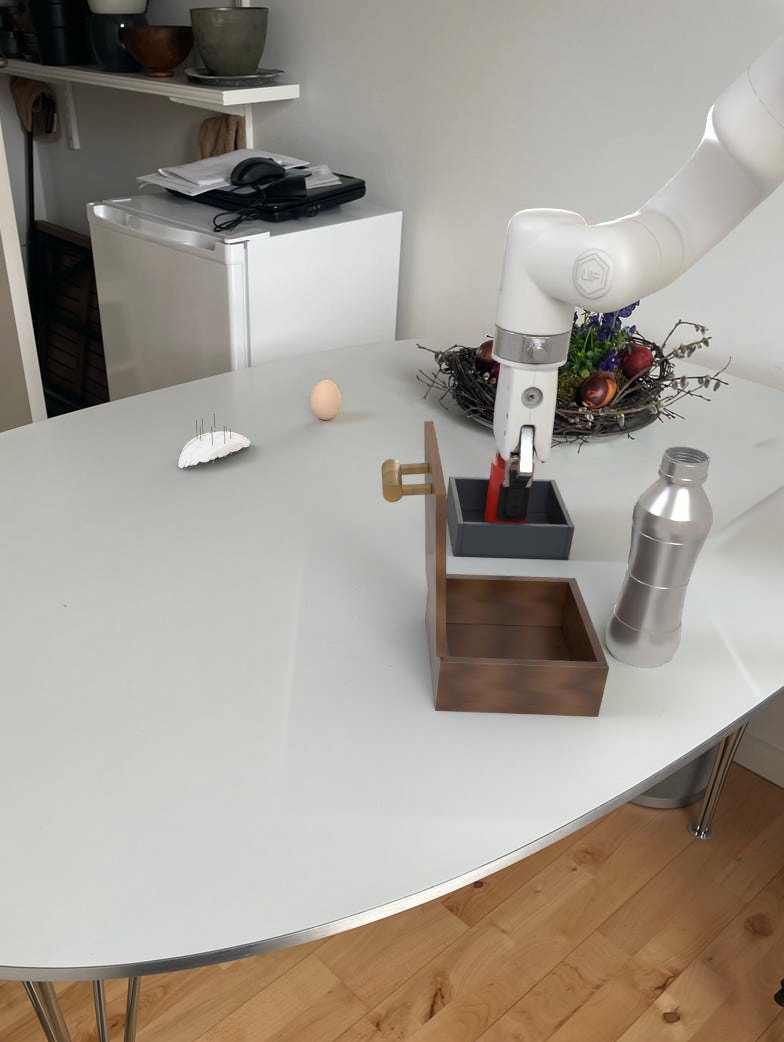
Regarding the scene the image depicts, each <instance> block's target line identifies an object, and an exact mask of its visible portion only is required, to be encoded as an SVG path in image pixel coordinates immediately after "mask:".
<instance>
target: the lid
mask: <svg viewBox="0 0 784 1042" xmlns="http://www.w3.org/2000/svg"><path fill="white" fill-rule="evenodd" d="M423 434H424V436H423V438H424V439H423V441H424V442H423V443H424V445H423V446H424V447H423V448H424V450H423V451H424V456H423V457H424V462H420V463H419V462H418V463H400V462H399V461H398V460H397V459H394V458H388V459H386V460H384V461H383V463H382V464H381V467H380V468H381V470H380V471H381V488H382V497H383V499H384V500H385V501H387V502H389V503H398V501H400V500H401V499H403V497H405V496H407V497H408V496H424V556H425V557H424V559H425V561H424V563H425V564H424V565H425V568H424V570H425V577H426V585H427V592H428V595H429V603H430V612H431V620H432V628H433V637H434V645H435V653H436V657H446V574H447V532H448V531H447V527H448V522H447V493H448V492H447V487H446V483H445V476H444V472H443V466H442V465H443V464H442V460H441V455H440V449H439V444H438V438H437V432H436V428H435V422H434V421H433V420H429V421H427V420H426V421H423ZM408 475H409V476H410V475H424V483H409V484H407V483H406V484H403V476H408Z"/></svg>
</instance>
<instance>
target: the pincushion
mask: <svg viewBox="0 0 784 1042" xmlns="http://www.w3.org/2000/svg"><path fill="white" fill-rule="evenodd" d="M215 415H216V414H215V413H214V414H213V421H214V422H213V423H214V425H213V426H211V429H213V427H216V419H215ZM203 420H204V419H201V426H202V427H201V428H202V431H204V421H203ZM195 424H196V425H195V429H196V432H198V425H197V421H195ZM201 428H199V435H196V436H195V437H194V438H192V439H190V440H189V441H187V443H185V445H184V447H183V448H182V450H181V453H180V455H179V457H178V462H177V467H178V468H179V469H183V468H184V467H185V468H187V467H189V466H192V467H193V466H196V465H198V464H199V463H208V462H210V460H211V461H212V464H214V463H215V459H216V458H223V457H224V458H227V455H229V454H230V455H232V453H233V452H239V450H241V449H243V448H244V449H245V448H248V447H250V445H251V443H252V441H251V440H250V439H249V438H247V437H246V436H244V435H242V434H239V433H237V432H234V431H231V430H226V427H223V430H222V431H221V430H220V431H211V432H206V433H202V431H201Z"/></svg>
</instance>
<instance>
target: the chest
mask: <svg viewBox="0 0 784 1042" xmlns="http://www.w3.org/2000/svg"><path fill="white" fill-rule="evenodd" d="M426 594H427V595H426V605H425V612H424V613H425V614H424V621H425V630H426V640H427V648H428V657H429V667H430V676H431V685H432V695H433V704H434V705H433V706H434V711H435V712H451V713H452V712H453V713H477V714H503V715H504V714H506V715H530V716H531V715H533V716H558V717H583V718H584V717H585V718H598V717H599V715H600V710H601V706H602V702H603V697H604V693H605V688H606V684H607V680H608V675H609V670H610V666H609V663H608V660H607V658H606V655H605V653H604V650H603V647H602V645H601V641H600V639H599V636H598V634H597V631H596V628H595V626H594V623H593V620H592V618H591V615H590V613H589V610H588V608H587V605H586V602H585V599H584V597H583V594H582V591H581V588H580V586H579V584H578V581H577V579H576V577H556V576H553V577H552V576H529V575H527V576H525V575H500V574H499V575H497V574H495V575H494V574H469V573H463V574H462V573H446V657H436V653H435V645H434V637H433V628H432V620H431V612H430V603H429V595H428V591H427V592H426Z"/></svg>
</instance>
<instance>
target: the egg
mask: <svg viewBox="0 0 784 1042" xmlns="http://www.w3.org/2000/svg"><path fill="white" fill-rule="evenodd" d="M309 404H310V405H309V406H310V409H311V411H312V413H313V414H314V415H315V416H316V418H318V419H320V420H324V421H326V420H327V421H328V420H331V419H333V418H334V417H335V416H336V415H338V413H339V412H340V409H341V407H342V395H341V392H340V390H339V387H338V386H337V385H336V384H335V382H333V381H332V380H329V379H322V380H320V381H319V382H317V383H316V384H315V386H314V387H313V389H312V391H311V394H310V399H309Z"/></svg>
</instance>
